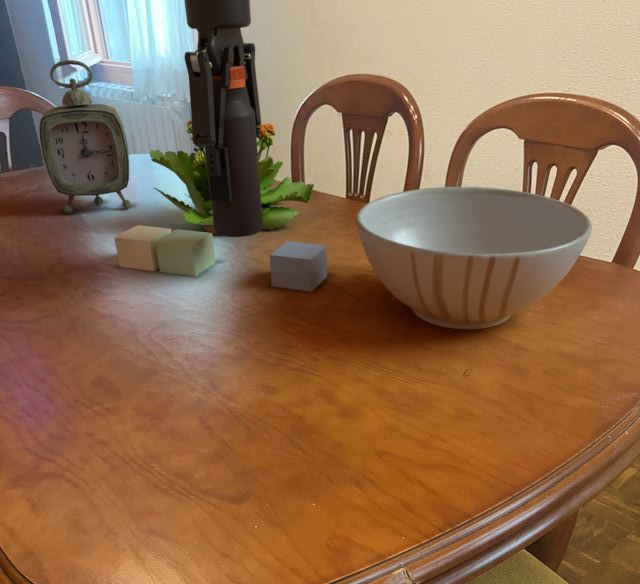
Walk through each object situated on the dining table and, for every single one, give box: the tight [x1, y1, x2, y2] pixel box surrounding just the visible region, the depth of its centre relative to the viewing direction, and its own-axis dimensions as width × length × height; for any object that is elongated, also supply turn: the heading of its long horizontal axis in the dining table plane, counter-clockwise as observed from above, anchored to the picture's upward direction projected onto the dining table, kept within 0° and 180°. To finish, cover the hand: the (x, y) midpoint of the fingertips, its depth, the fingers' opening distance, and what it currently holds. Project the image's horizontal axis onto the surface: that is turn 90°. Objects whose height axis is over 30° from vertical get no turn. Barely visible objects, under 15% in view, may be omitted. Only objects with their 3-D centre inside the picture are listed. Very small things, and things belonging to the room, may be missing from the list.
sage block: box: [155, 228, 216, 277], centre depth 96 cm, size 6×6×5 cm
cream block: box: [113, 224, 173, 272], centre depth 99 cm, size 6×6×5 cm
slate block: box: [269, 240, 328, 292], centre depth 91 cm, size 6×6×5 cm
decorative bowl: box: [355, 186, 593, 330], centre depth 80 cm, size 27×27×12 cm
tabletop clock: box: [39, 59, 132, 215], centre depth 120 cm, size 14×9×25 cm, turn 104°
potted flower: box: [149, 119, 315, 236], centre depth 110 cm, size 25×24×18 cm
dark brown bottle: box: [204, 66, 263, 238], centre depth 86 cm, size 7×7×20 cm
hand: (235, 192), depth 88 cm, fingers closed on dark brown bottle, 7 cm apart
